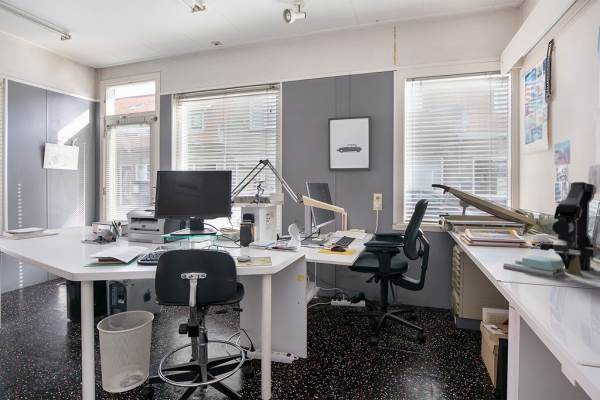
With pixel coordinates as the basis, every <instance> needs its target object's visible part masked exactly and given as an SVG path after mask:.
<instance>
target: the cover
mask: <svg viewBox="0 0 600 400" xmlns="http://www.w3.org/2000/svg"><path fill="white" fill-rule="evenodd" d="M521 261H522V266H527V267H533V268H539V269H544V270H550V271H552V270H556V269H560V268H565V266H564V263H563V261H562V259H561V258H556V257H548V256H544V255H543V256H542V255H530V256H526V257H522V260H521Z"/></svg>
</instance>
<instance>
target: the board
mask: <svg viewBox="0 0 600 400" xmlns="http://www.w3.org/2000/svg"><path fill="white" fill-rule="evenodd" d="M502 268H503V269H506V270H511V271H517V272H521V273H526V274H531V275H538V276H542V277H547V278H554V277H558V276H561V275H564V274H565V267H563V268H560V269H556V270H552V271H550V270H544V269H539V268H533V267H527V266H522V260H519V259H518V260H517V259H516V260H515V262H514V263H507V262H503V267H502Z"/></svg>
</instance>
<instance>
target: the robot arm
mask: <svg viewBox="0 0 600 400" xmlns="http://www.w3.org/2000/svg"><path fill="white" fill-rule="evenodd" d="M596 193H597V186H595V185H594V184H593V183H587V182H584V181H579V182H578V181H575V182H571V183H570V186H569V191H568V194H567V196H566V198H565V199H563V200H560V202H559V203H558V205H556V209H555V211H554V216H553V219H554V220H557V221H555V222H554V223H553V224H552V227H551V228H552V232H553V233H555V234H556V235H557V239H556V240H555V241H553V242H543V243H540V245H539V250H542V251H549V250H553V251H554V253H555V254H557V256H559V257H560V259H562V261H563V263H564V268H566V269H569V268H570V267H571V265H572V263H573V261H574V259H575V258H576V257H577V256H578V255H579V262H580V268H581V270H585V271H590V270H591V271H592V270H593V269H595V268H594V267H593V266H592V267H591V265H592V261H591V260H592V259H591V258H597V256H599V250H598V248H596V246H595V243H594V242H593V239H592V237H591V236H590V235H589V224H590V223H589V222H590V221H589V220H590V203H591V202H592V201H593V199H594V198H595V195H596ZM568 251H569V252H568Z"/></svg>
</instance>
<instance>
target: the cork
mask: <svg viewBox="0 0 600 400" xmlns="http://www.w3.org/2000/svg"><path fill="white" fill-rule="evenodd" d="M568 252H569V251H568ZM564 268H565V267H564ZM565 273H566V274H569V275H581V274H582V269H581V268H580V262H579V255H578V256H577V257H576V258H575V259H574V261H573V263H572V265H571V267H570V268H569V269H566V268H565Z"/></svg>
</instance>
